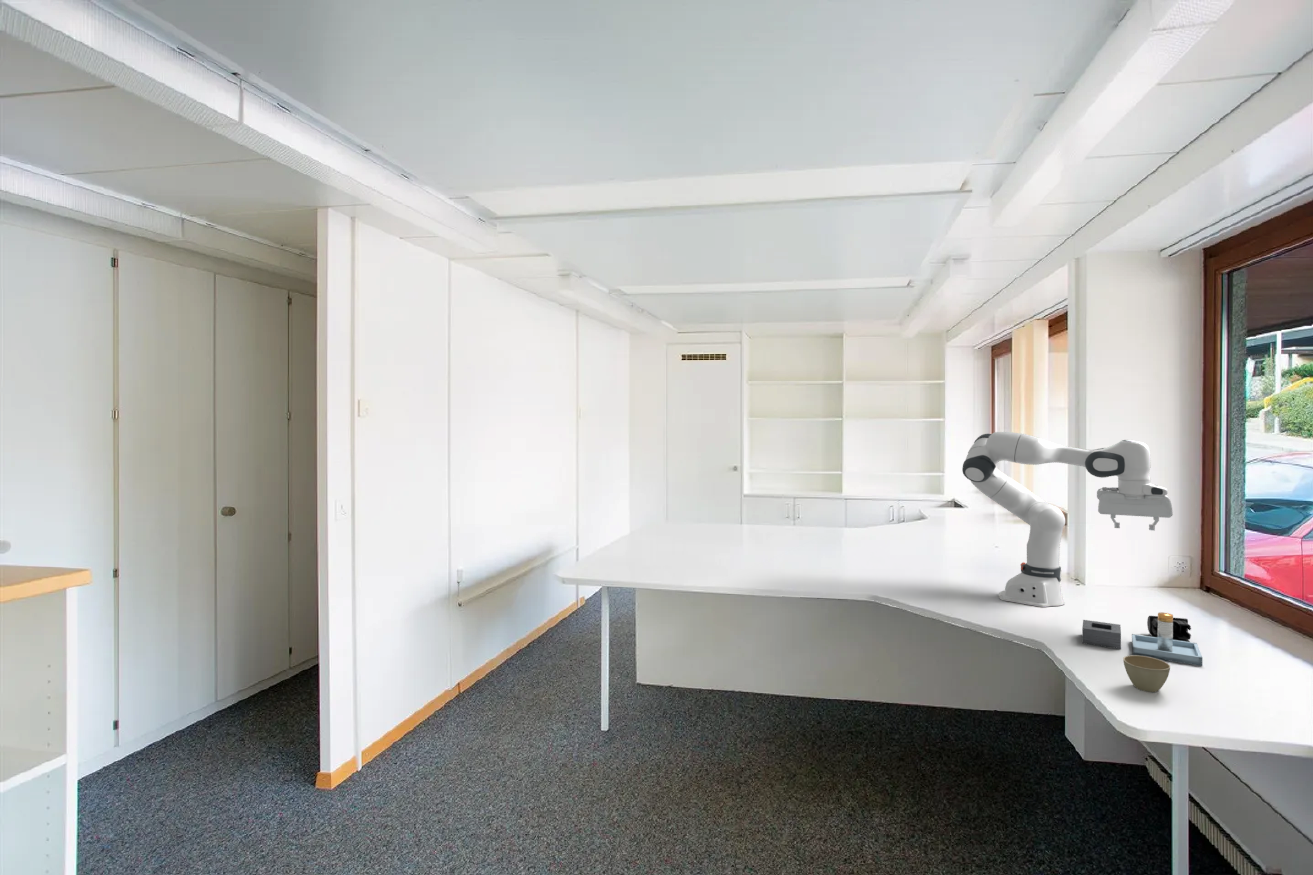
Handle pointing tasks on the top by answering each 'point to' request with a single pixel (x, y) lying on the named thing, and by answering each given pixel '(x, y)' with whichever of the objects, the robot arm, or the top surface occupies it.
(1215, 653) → the top surface
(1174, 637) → the end cap
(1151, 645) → the tray
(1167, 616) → the gold and grey cylinder
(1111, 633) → the socket block
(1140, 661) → the olive bowl
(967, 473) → the robot arm
